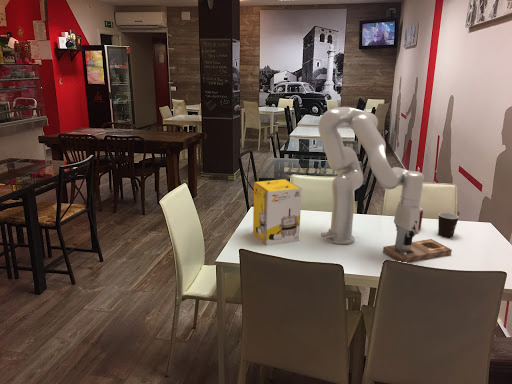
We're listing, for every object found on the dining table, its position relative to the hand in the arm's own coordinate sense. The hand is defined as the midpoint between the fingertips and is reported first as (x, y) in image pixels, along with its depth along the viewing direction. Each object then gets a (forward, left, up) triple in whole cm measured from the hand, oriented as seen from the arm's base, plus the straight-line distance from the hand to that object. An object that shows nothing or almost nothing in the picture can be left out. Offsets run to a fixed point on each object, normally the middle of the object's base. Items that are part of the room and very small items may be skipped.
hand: (403, 242), depth 175 cm
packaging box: (-43, +36, -6) cm, 56 cm away
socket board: (+7, -1, -6) cm, 10 cm away
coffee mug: (+36, +11, -6) cm, 39 cm away
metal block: (0, 0, -3) cm, 3 cm away
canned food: (+25, +23, -6) cm, 35 cm away
